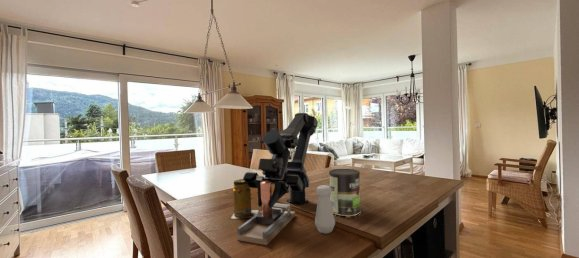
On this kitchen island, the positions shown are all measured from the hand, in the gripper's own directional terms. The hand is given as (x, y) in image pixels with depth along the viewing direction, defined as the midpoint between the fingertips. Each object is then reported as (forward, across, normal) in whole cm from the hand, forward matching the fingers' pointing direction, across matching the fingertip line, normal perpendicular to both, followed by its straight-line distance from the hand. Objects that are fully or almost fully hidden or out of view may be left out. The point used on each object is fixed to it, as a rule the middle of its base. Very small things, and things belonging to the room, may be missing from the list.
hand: (264, 206), depth 75 cm
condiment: (-1, -13, +12) cm, 17 cm away
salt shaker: (+1, +17, +9) cm, 19 cm away
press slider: (+2, 0, +6) cm, 6 cm away
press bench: (+3, 0, +7) cm, 8 cm away
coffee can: (-10, +20, +21) cm, 30 cm away
